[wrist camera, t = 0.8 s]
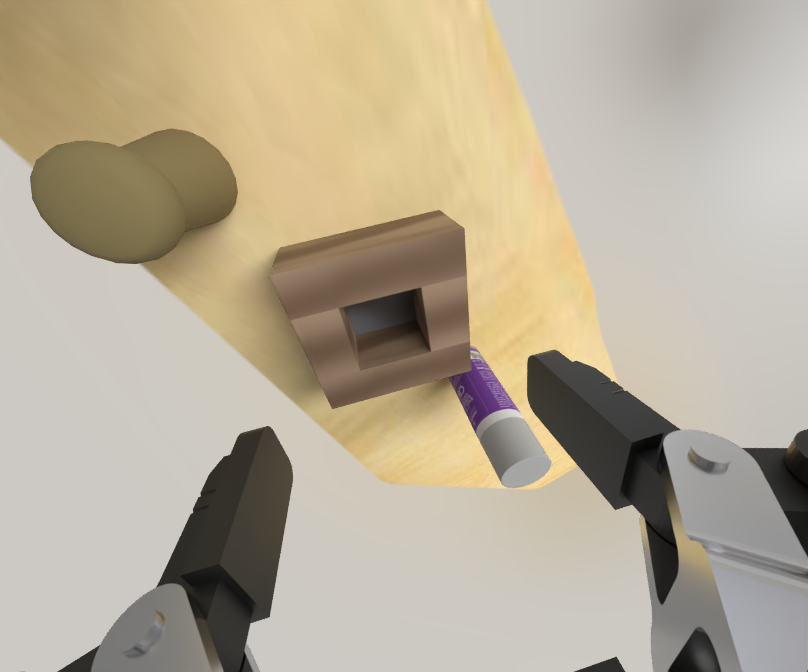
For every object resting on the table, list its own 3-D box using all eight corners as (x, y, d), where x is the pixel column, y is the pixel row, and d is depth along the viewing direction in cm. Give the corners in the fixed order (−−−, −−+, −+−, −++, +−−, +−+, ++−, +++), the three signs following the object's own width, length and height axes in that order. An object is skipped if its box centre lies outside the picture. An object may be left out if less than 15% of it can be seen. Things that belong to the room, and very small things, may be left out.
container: (438, 355, 36) (494, 471, 24) (474, 338, 35) (550, 447, 23) (449, 380, 38) (504, 495, 26) (483, 365, 38) (554, 474, 26)
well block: (280, 247, 25) (268, 275, 20) (439, 210, 26) (464, 228, 21) (331, 368, 34) (332, 409, 29) (451, 336, 34) (471, 370, 30)
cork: (118, 171, 20) (-42, 204, 12) (173, 105, 19) (40, 85, 10) (203, 239, 24) (129, 305, 15) (255, 187, 23) (207, 224, 14)
